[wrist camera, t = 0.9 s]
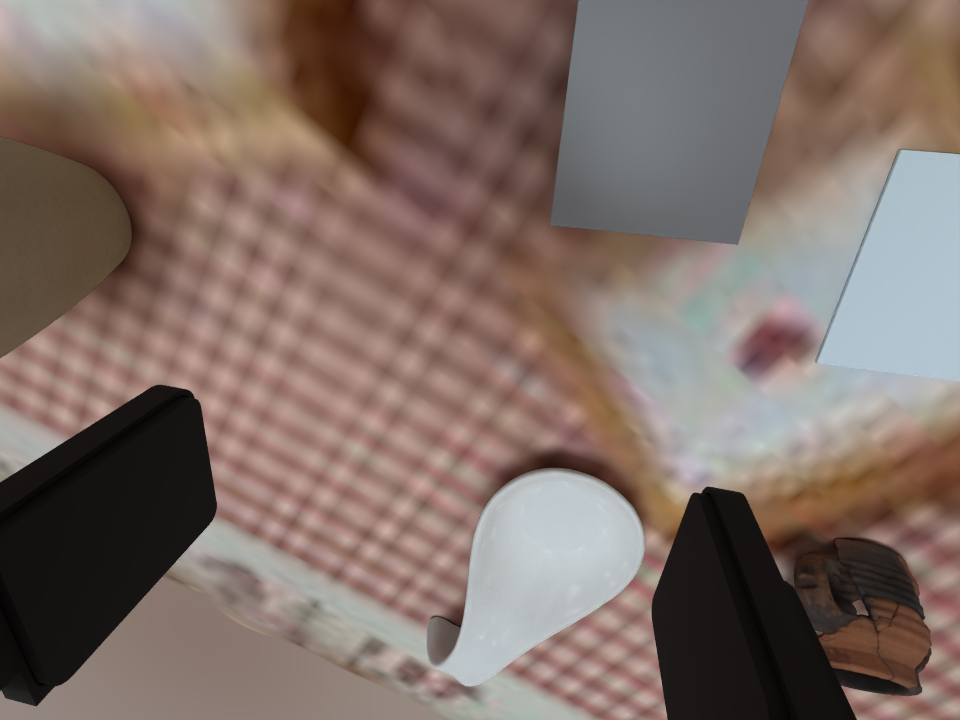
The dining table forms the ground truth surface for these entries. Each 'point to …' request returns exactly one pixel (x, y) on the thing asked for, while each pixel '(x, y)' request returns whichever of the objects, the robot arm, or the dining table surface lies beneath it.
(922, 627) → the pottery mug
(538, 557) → the spoon rest
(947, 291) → the pale gray panel
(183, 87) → the dining table surface
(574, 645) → the dining table surface
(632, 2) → the plain gray box
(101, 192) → the plant pot
